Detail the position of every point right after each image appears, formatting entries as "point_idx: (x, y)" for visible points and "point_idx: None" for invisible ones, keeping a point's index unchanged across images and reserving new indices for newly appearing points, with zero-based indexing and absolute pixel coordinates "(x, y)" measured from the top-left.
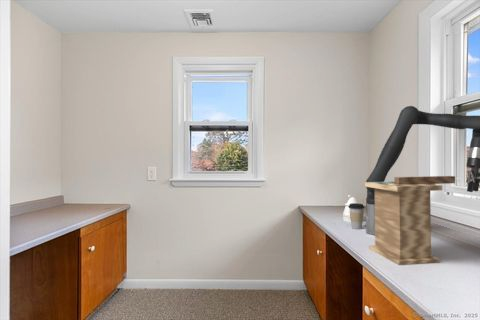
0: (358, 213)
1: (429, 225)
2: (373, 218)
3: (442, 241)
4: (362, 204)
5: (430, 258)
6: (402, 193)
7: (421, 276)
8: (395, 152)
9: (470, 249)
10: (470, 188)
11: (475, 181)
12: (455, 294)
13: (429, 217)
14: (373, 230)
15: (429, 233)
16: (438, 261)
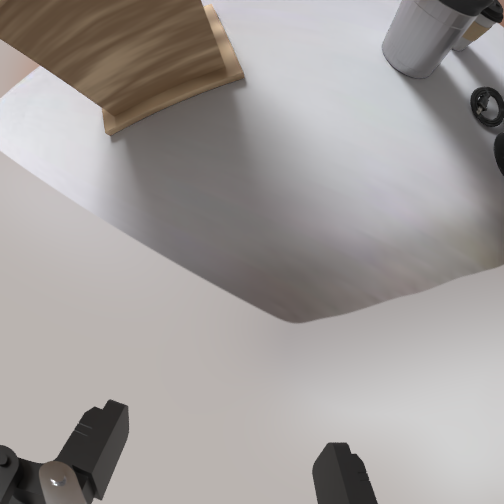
0: None
1: (60, 75)
2: (398, 8)
3: (351, 237)
4: (490, 7)
5: (108, 114)
6: None
7: (54, 93)
8: None
9: (249, 287)
10: (326, 482)
11: (34, 462)
12: (10, 131)
13: (43, 64)
14: (386, 34)
15: (75, 86)
16: (108, 133)
